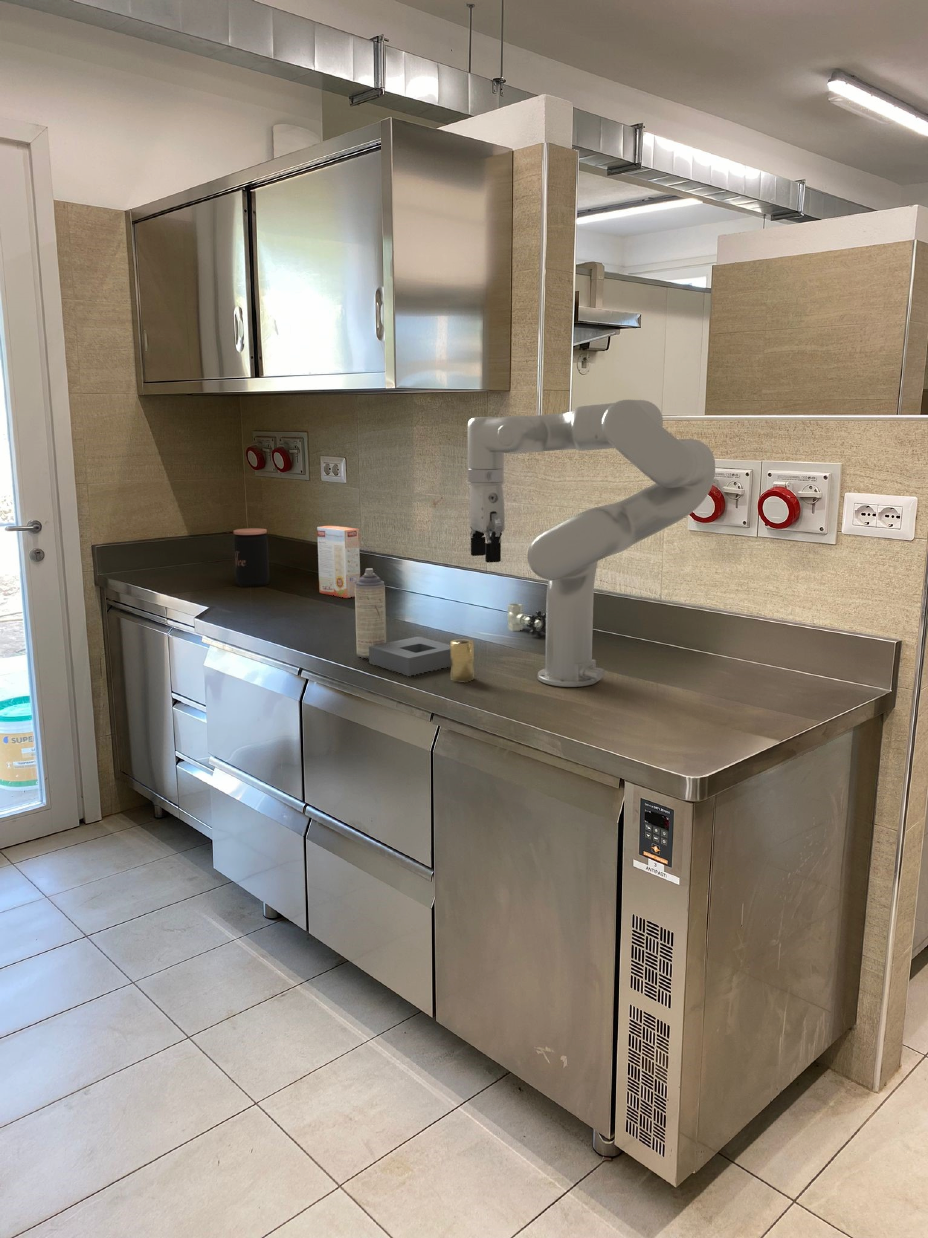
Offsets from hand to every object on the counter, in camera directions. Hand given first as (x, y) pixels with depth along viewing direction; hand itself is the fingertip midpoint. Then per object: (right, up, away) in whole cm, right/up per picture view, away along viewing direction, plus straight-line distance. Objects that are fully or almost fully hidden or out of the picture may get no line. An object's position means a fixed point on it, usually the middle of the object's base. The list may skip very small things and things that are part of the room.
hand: (485, 558), depth 196 cm
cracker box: (-43, -6, +88) cm, 98 cm away
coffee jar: (-74, -2, +106) cm, 129 cm away
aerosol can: (-26, -21, +15) cm, 37 cm away
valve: (+11, -17, +37) cm, 42 cm away
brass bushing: (-5, -25, -4) cm, 26 cm away
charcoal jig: (-16, -23, +7) cm, 29 cm away
